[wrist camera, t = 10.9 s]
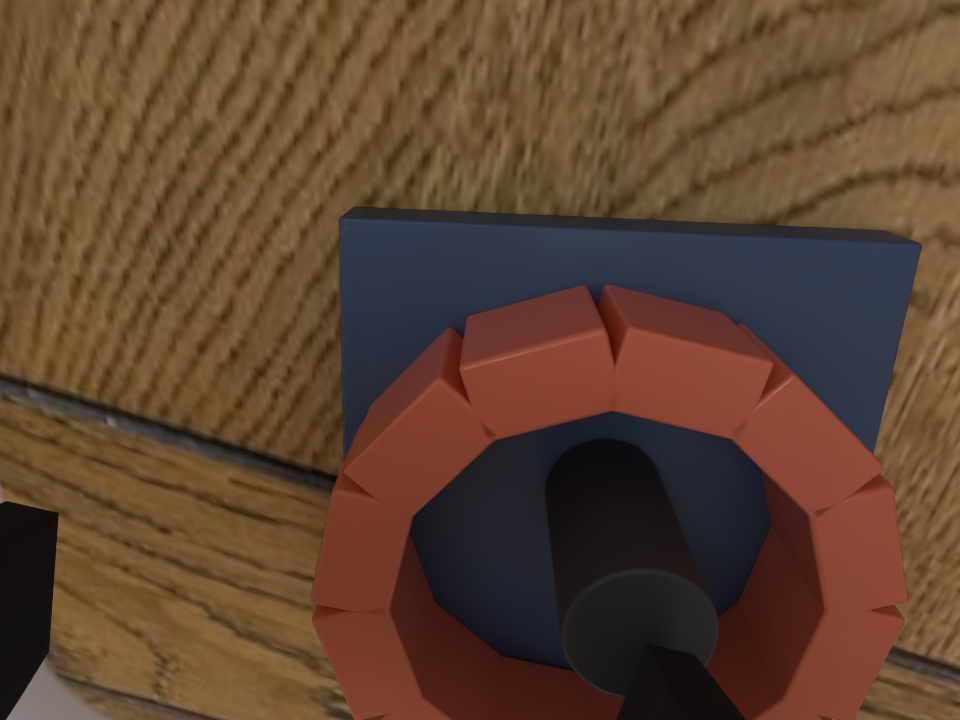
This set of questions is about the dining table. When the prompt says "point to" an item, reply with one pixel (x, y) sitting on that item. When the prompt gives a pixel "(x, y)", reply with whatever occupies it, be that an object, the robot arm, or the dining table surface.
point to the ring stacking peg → (611, 417)
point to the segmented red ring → (579, 394)
